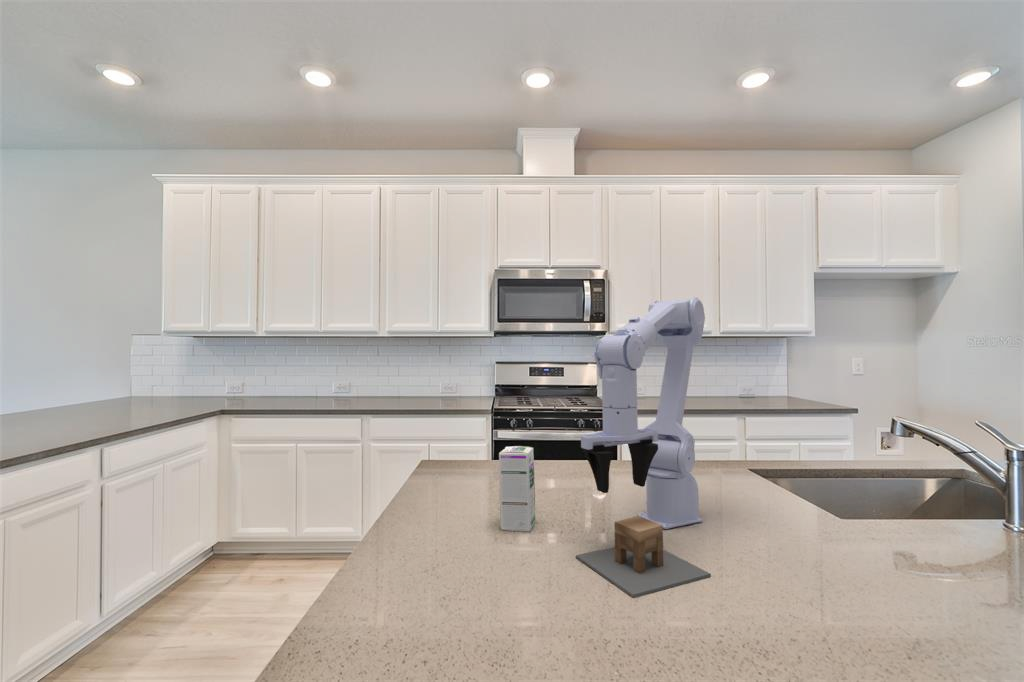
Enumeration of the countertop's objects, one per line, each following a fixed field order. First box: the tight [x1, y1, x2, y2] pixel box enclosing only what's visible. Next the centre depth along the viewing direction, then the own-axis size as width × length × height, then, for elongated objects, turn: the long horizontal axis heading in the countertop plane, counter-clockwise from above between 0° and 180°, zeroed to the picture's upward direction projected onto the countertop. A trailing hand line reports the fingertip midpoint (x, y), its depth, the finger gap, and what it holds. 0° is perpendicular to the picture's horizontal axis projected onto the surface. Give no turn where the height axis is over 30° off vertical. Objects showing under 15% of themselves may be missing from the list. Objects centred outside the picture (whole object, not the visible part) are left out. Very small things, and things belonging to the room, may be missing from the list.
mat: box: [575, 546, 712, 599], centre depth 73 cm, size 14×14×1 cm
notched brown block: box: [614, 515, 664, 574], centre depth 73 cm, size 5×5×6 cm
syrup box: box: [498, 445, 536, 533], centre depth 91 cm, size 6×6×14 cm
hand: (621, 488), depth 80 cm, fingers open, 7 cm apart
